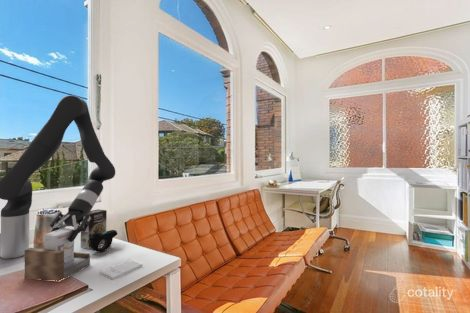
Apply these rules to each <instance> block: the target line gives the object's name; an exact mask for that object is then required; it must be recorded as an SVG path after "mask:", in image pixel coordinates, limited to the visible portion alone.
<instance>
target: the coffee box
mask: <svg viewBox="0 0 470 313" xmlns="http://www.w3.org/2000/svg"><path fill="white" fill-rule="evenodd" d="M107 212H108V211H107V210H106V209H98V208H97V209H93V210H91V211H90V212H89V214H88V215H89V216H90V217H91V218H92V220H91V221H90V223H89V225H88V227H87V229H86V231H85V232H83V231H82V232H80V247H81V248H84V249H87V250H90V249H91V250H92V248H91V247H90V244H89V236H90V235H92V234H93V233H95V232H93V231H94V230H99V231H98V233H101V232H106V231H107V219H108V218H107ZM82 222H83V221H82ZM82 222H81V223H82ZM104 242H105V241H104V239H103V240H101V241H100V243H99V245H98V247H99V246H103V245H104Z"/></svg>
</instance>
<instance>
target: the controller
mask: <svg viewBox="0 0 470 313" xmlns="http://www.w3.org/2000/svg"><path fill="white" fill-rule="evenodd" d="M98 231H99V230H94V231H93V232H95V233H93V234H92V235H90V236H89V244H90V247H91V250H93V251H94V252H97V253H103V252H105V251H106V250H108V249H109V248H110V247H111V245H112V243H113V239H114V237H116V236H117V235H118V231H117V230H115V229H110V230H106V232H101V233H98ZM103 239H104V241H105V242H104V244H102V245H101V247H99V246H100V245H99V243H100V241H101V240H103ZM98 245H99V246H98Z"/></svg>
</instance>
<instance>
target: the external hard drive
mask: <svg viewBox="0 0 470 313" xmlns="http://www.w3.org/2000/svg"><path fill="white" fill-rule="evenodd" d="M143 266H144V265H143V263H140V262H138V261H135V260H133V259H128V260H125V261H123V262H121V263H118V264H115V265H113V266H111V267H109V268H106V269H104V270H101V271H99V275H101V276H103V277H106V278H107V279H110V280H112V281H114V280H116V279H119V278H120V277H123V276H125V275H128V274H130V273H131V272H133V271H136V270H138V269H141V268H143Z"/></svg>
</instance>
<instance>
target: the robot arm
mask: <svg viewBox="0 0 470 313" xmlns="http://www.w3.org/2000/svg"><path fill="white" fill-rule="evenodd" d="M73 122H74V123H75V125H76V127H77V130H78V132H79V138H80V142H81V146H82V148H83V151H84V153H85V155H86V157H87V158H86V159H87V160H88V161H89V163H94V164H95V165H97V167H95V168H93V170H92V171H91V172H90V173H89V176H88V179H87V182H86V183H85V185H84V186H83V188H82V189H81V190H80V192H79V193H78V194H77V196H76V197H75V198H74V199H73V201H72V202H71V203H70V205H69V207H68V208H67V209H68V211H67V212H66V213H65V214H63V213H62V212H60V213H58V214H57V215H56V217H55V218H53V221H52V222H51V223H50V224H49V227H51V228H52V230H51V231H50V232H53V231H56V230H60V229H63V228H67V227H73V229H74V230H73V231H72V232H71V234H70V235H69V237H68V239H67V240H68V241H69V242H72V241H73V240H74V241H75V239H76V237H77V236H78V235H79V234H81V232H82V231H83V232H85V231H86V229H87V227H88V225H89V223H90V221H91V220H92V218H91V217H90V216H89V215H88V214H89V212H90V211H92V209H93V208H94V206H95V205H96V203H97V200H98V199H99V197H100V196H101V193H102V192H103V190H104V185H103V183H104V182H105V181H109V180H112V179H113V178H115V176H116V167H115V166H114V164H113V163H112V161H110V159H109V158H108V156H106V154H105V152H104V149H103V147H102V145H101V143H100V140H99V138H98V135H97V133H96V130H95V128H94V126H93V122H92V119H91V114H90V111H89V107H88V104H87V102H86V101H85V100H84V99H83V98H81V97H79V96H76V95H74V94H73V95H72V94H68V95H66V96H65V95H64V96H63V97H62V98H61V99H60V100H59V101H58V103H57V105H56V107H55V109H54V111H53V112H52V114H51V116H50V118H49V119H48V120H47V122H46V123H45V124H44V125H43V126H42V128H41V129H40V130H39V132H37V134H36V135H35V136H34V138H33V139H32V140H31V142H30V143H29V145H28V146H27V148H26V149H25V150H24V152H23V153H22V154H21V156H20V157H19V158H18V160H17V161H16V163H15V164H14V165H12V167H11V169H9V170H8V172H7V173H5V175H3V177H2V178H1V179H0V200H4V201H7V202H6V204H5V205H4V206H3V207H2V208H1V210H0V258H1V259H8V260H9V259H14V258H20V257H23V256H25V249H28V248H30V210H31V206H32V202H33V184H32V182H31V180H30V177H31V176H32V175H33V174H34V173H35V172H36V171H37V170H39V169H40V168H41V167H43V166H44V165H46V163H47V162H48V161H50V160H51V159H52V158H53V156H54V155H55V153H56V152H57V151H58V149H59V148H60V146H61V144H62V142H63V139H64V137H65V134H66V131H67V129H68V127H69V126H70V125H71V124H72V123H73ZM82 221H83V222H82ZM81 222H82V223H81Z"/></svg>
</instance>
